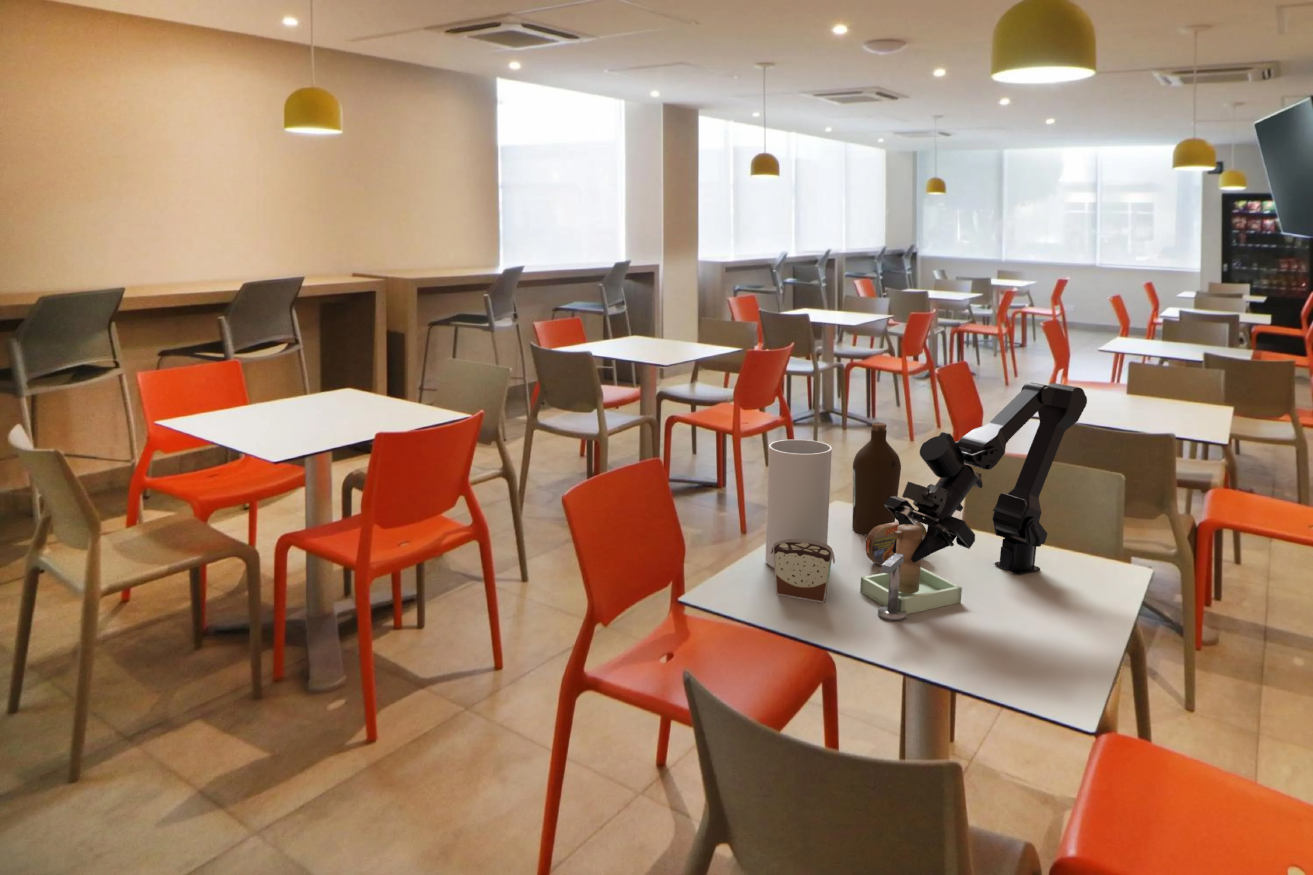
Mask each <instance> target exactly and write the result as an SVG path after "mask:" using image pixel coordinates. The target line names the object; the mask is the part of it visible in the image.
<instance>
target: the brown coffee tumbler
mask: <svg viewBox="0 0 1313 875" xmlns="http://www.w3.org/2000/svg"><path fill="white" fill-rule="evenodd" d="M894 538H896V539H897V543H896V553H897V554H902V555H904V562H903V563H902V564H901V565H900V581H899V592H902V593H916V592H918V591H919V582H920V567H922V565H921V564H922V559H921V560H919V561H917V562H913V561H912V560H911V558H912V556H913V554H914V552H915V551H916V549H917V548H918V546H919V545H920V543H921V542H922V538H923V528H922V527H920V526H917V525H912V524H903V525H899V526H898V527H897V531H894Z"/></svg>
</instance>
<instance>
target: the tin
mask: <svg viewBox="0 0 1313 875" xmlns="http://www.w3.org/2000/svg"><path fill="white" fill-rule="evenodd" d="M916 525H917V526H920V527H922V528H923V538H922V540H923V539H924V537H925V536H926V534H927V528H926V527H925V524H923V523H920V522H917V524H916ZM898 526H899V521H898V520H896V521H895V522H893V523H888V524H883V525H878V526H876V527H874V528H873V529H872V530H871V531H870V533H869V534H868V535H866V536H867V537H866V539H865V553H866V554H865V555H866V556H867V558H868V559H869V560H870V561H872V562H873V563H875V564H876V565H879V566H881V565H882V564H883V563H884V562H885V561H886V560H888V559H889V558H890V557H891V556H892V555H894V553H893V552H892V550H893V546H894V542H895V539H896V538H894V531H897V527H898Z"/></svg>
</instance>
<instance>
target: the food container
mask: <svg viewBox="0 0 1313 875" xmlns="http://www.w3.org/2000/svg"><path fill="white" fill-rule="evenodd" d="M772 553H773V556H774V568H773V569H774V581H775V593H776V594H775V595H777V596H783V597H788V598H793V599H799V600H804V601H805V600H806V601H811V602H812V601H813V602H818V603H822V604H824V603H826V599H827V593H828V592H827V591H828V585H829V581H830V580H829V578H830V572H831V566H832V565H831V564H833V565H835V563H836V558H835V553H834V550H833V547H831V546H830V545H828V543H827V544H825V543H823V542H820V541H816V540H810V539H785V540H781V541H778V542H776V543H774V544H773V547H772V548H771V552H770V554H772Z"/></svg>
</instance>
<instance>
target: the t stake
mask: <svg viewBox="0 0 1313 875" xmlns="http://www.w3.org/2000/svg"><path fill="white" fill-rule="evenodd" d="M903 562H904V555H902V554H897V553H895V554H894V555H892V556H891V557H890V558H889V559H888V560H886V561H885V562H884V563H883V564H882V565H880V566H881V568H880V573H887V574H889V590H888V606H884V605H883V606H881V607H879V608H878V609H877V616H878V617H879V618H880V619H882V620H884V621H887V622H902V621H904V620H906V619H907V615H908V614H907V612H906V611H905V610H904V611H900V610H898V596H899V581H900V565H901V564H902V563H903Z"/></svg>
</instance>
